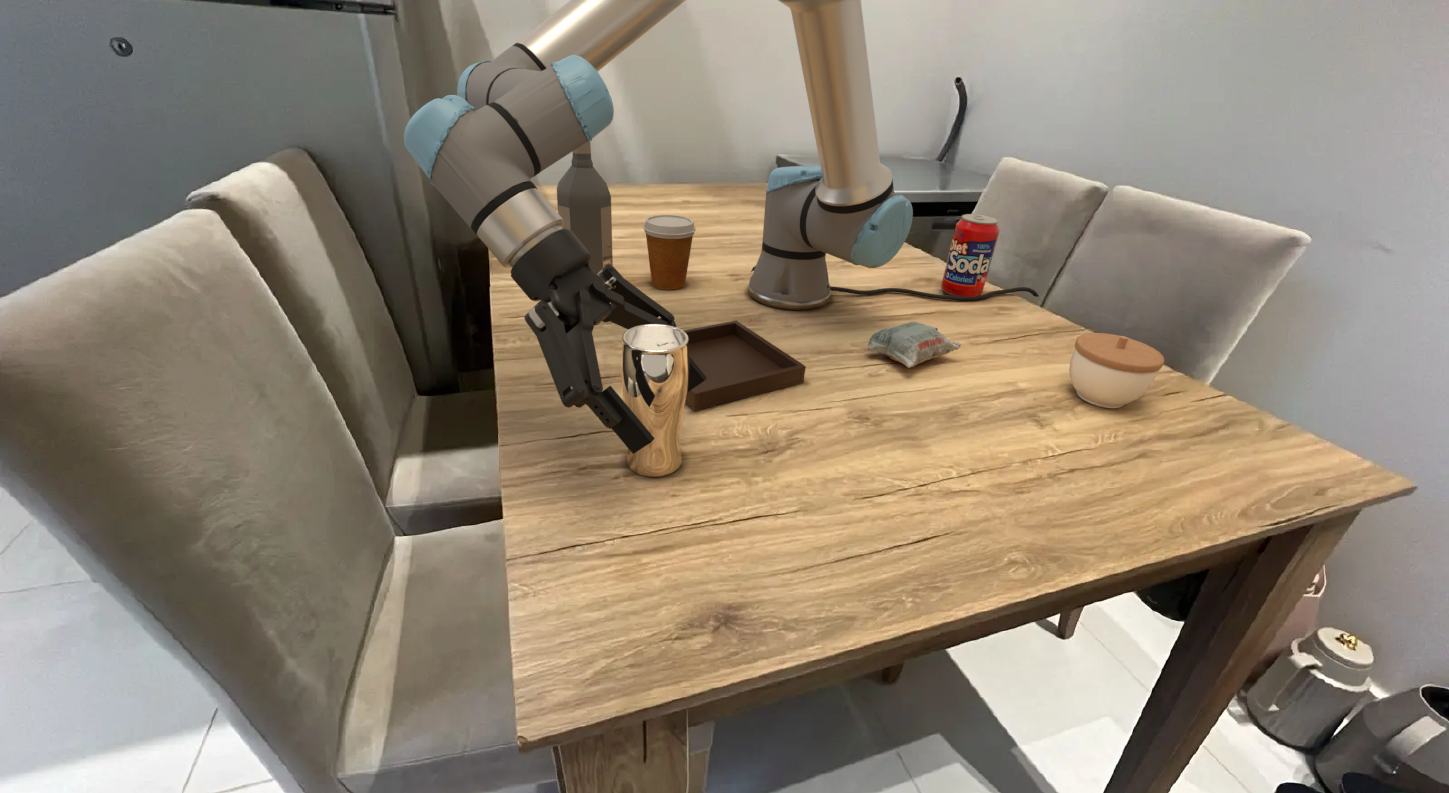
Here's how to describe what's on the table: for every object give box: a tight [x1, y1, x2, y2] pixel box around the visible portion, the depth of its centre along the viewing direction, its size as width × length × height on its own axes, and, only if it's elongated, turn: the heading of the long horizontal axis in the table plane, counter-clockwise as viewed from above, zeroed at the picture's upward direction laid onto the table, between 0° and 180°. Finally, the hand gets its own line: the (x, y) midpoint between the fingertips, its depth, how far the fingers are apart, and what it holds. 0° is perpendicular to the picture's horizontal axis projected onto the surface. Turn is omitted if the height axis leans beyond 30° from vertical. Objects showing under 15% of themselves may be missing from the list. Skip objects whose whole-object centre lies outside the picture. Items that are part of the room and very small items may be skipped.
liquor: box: [556, 141, 614, 274], centre depth 111 cm, size 9×9×30 cm
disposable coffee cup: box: [642, 214, 697, 291], centre depth 116 cm, size 10×10×12 cm
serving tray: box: [682, 320, 807, 412], centre depth 89 cm, size 18×18×3 cm
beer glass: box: [620, 324, 689, 478], centre depth 66 cm, size 7×7×15 cm
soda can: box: [940, 213, 1000, 297], centre depth 121 cm, size 8×8×15 cm
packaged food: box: [867, 321, 962, 369], centre depth 96 cm, size 9×12×5 cm
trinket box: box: [1068, 332, 1165, 409], centre depth 87 cm, size 11×11×9 cm
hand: (673, 413), depth 66 cm, fingers open, 13 cm apart
